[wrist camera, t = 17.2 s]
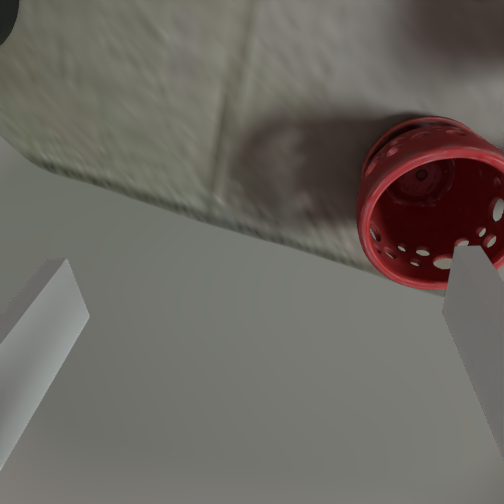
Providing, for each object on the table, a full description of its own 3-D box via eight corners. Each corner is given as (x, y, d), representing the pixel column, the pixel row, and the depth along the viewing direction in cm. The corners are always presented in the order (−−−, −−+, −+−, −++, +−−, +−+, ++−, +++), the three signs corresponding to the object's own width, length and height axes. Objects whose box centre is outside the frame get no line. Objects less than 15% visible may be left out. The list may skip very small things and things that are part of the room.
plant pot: (438, 73, 39) (484, 108, 29) (506, 178, 44) (566, 239, 34) (321, 162, 45) (326, 217, 35) (392, 246, 50) (415, 317, 39)
